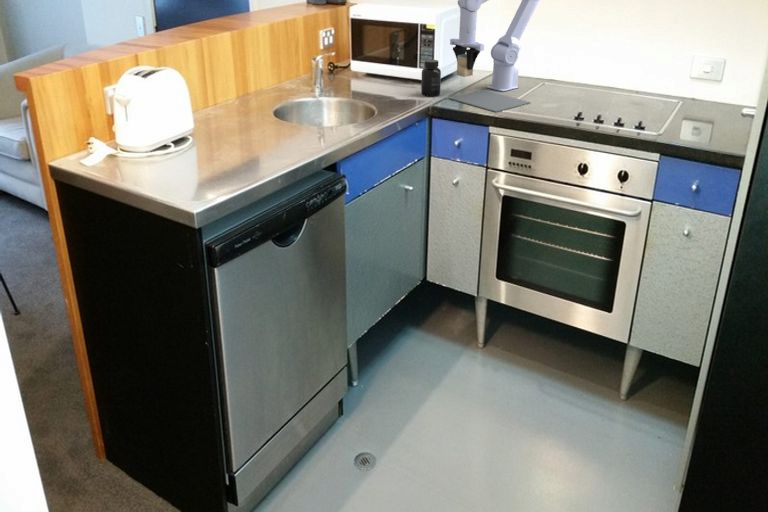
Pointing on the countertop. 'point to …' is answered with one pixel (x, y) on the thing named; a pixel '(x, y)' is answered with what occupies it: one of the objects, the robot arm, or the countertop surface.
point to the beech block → (463, 66)
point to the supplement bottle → (431, 79)
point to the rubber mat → (489, 100)
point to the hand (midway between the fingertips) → (465, 68)
